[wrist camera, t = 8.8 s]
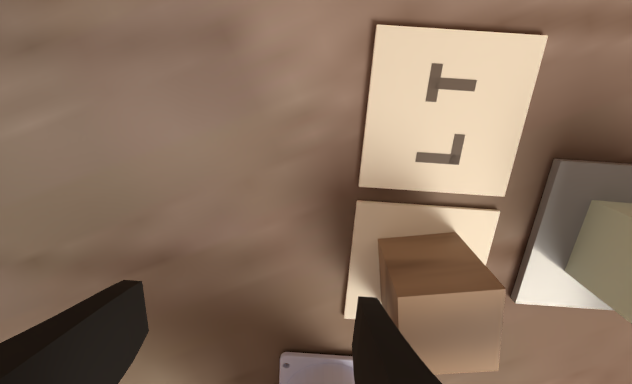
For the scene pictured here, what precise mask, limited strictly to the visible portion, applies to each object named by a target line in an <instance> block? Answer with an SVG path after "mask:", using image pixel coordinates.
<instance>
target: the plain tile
mask: <svg viewBox="0 0 632 384" xmlns="http://www.w3.org/2000/svg"><path fill="white" fill-rule="evenodd" d="M499 215H500V211H499V210H494V209H479V208H464V207H450V206H435V205H420V204H405V203H391V202H376V201H361V200H357V202H356V211H355V220H354V229H353V238H352V247H351V256H350V265H349V274H348V283H347V292H346V301H345V310H344V318H345V319H355V318H356V310H357V302H358V296H362V297H376V298H377V299H378V300H379V301H380V302H381V289H380V271H379V253H378V239H381V238H393V237H404V236H415V235H427V234H438V233H450V232H456V233H457V234H458V235H459V236H460V237H461V239H462V240H463V241H464V242H465V243H466V244H467V245H468V246H469V248H470V249H471V250H472V251H473V252H474V253H475V254H476V256H477V257H478V258H479V259H480V260H481V261H482V262H483V264H484V265H485V266H486V262H487V259H488V255H489V251H490V248H491V244H492V240H493V237H494V233H495V229H496V226H497V222H498V218H499ZM381 304H382V303H381Z"/></svg>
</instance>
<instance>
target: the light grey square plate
mask: <svg viewBox="0 0 632 384" xmlns="http://www.w3.org/2000/svg"><path fill="white" fill-rule="evenodd" d="M592 200H598V201H610V202H622V203H632V164H627V163H612V162H597V161H582V160H567V159H554V160H553V164H552V167H551V170H550V173H549V176H548V180H547V183H546V186H545V189H544V192H543V195H542V199H541V202H540V205H539V208H538V211H537V215H536V218H535V221H534V224H533V227H532V231H531V234H530V237H529V240H528V243H527V247H526V250H525V253H524V256H523V259H522V263H521V266H520V269H519V272H518V275H517V279H516V282H515V285H514V288H513V291H512V295H511V299H512V300H513V301H514V302H515V303H517V304H531V305H546V306H560V307H575V308H589V309H604V310H613V309H612V308H611V307H609V306H608V305H607V304H606V303H604V302H603V301H602V300H601V299H599V298H598V297H597V296H595V295H594V294H593V293H592V292H590V291H589V290H588V289H587V288H585V287H584V286H583V285H581V284H580V283H579V282H578V281H576V280H575V279H574V278H572V277H571V276H570V275H569V274H567V273H566V272H565V268H566V266H567V263H568V261H569V258H570V255H571V253H572V250H573V248H574V245H575V243H576V240H577V237H578V235H579V232H580V230H581V227H582V224H583V222H584V219H585V217H586V214H587V211H588V209H589V206H590V204H591V201H592Z"/></svg>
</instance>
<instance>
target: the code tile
mask: <svg viewBox="0 0 632 384" xmlns="http://www.w3.org/2000/svg"><path fill="white" fill-rule="evenodd" d="M547 38H548V36H546V35H530V34H515V33H500V32H484V31H469V30H454V29H438V28H423V27H408V26H392V25H376V31H375V40H374V49H373V58H372V67H371V76H370V85H369V94H368V103H367V112H366V121H365V130H364V139H363V148H362V157H361V166H360V175H359V184H358V186H359V187H370V188H384V189H399V190H414V191H429V192H444V193H458V194H473V195H488V196H503V197H504V196H505V193H506V189H507V185H508V182H509V178H510V174H511V171H512V167H513V163H514V160H515V156H516V152H517V148H518V145H519V141H520V137H521V134H522V130H523V126H524V123H525V119H526V115H527V112H528V108H529V104H530V101H531V97H532V93H533V90H534V86H535V82H536V79H537V75H538V71H539V68H540V64H541V60H542V57H543V53H544V49H545V45H546V42H547Z"/></svg>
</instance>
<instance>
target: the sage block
mask: <svg viewBox="0 0 632 384" xmlns="http://www.w3.org/2000/svg"><path fill="white" fill-rule="evenodd" d="M565 272H566V273H567V274H569V275H570V276H571V277H572V278H574V279H575V280H576V281H578V282H579V283H580V284H581V285H583V286H584V287H585V288H587V289H588V290H589V291H590V292H592V293H593V294H594V295H595V296H597V297H598V298H599V299H601V300H602V301H603V302H604V303H606V304H607V305H608V306H609V307H611V308H612V309H613V310H615V311H616V312H617V313H618V314H620V315H621V316H622V317H623V318H625V319H626V320H627V321H629V322H630V323H631V324H632V203H622V202H610V201H598V200H592V201H591V204H590V206H589V209H588V211H587V214H586V217H585V219H584V222H583V224H582V227H581V230H580V232H579V235H578V237H577V240H576V243H575V245H574V248H573V250H572V253H571V255H570V258H569V261H568V263H567V266H566V268H565Z"/></svg>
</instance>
